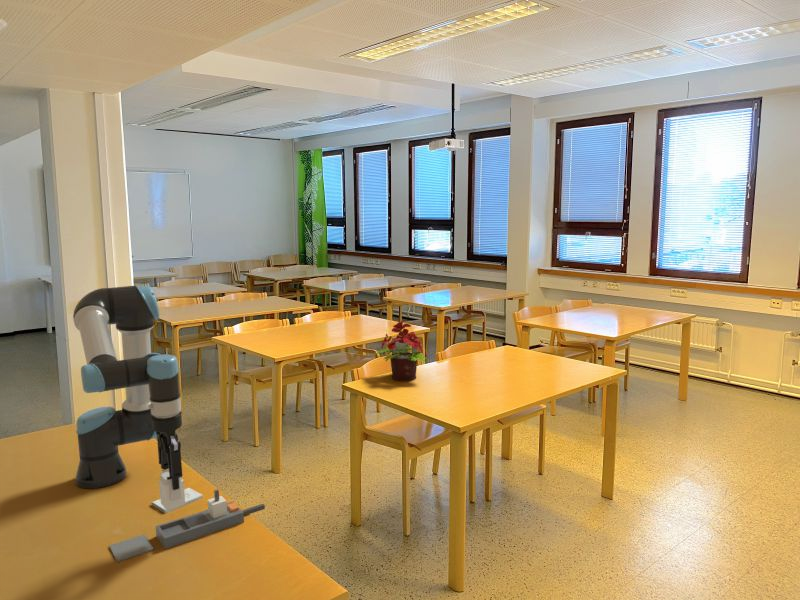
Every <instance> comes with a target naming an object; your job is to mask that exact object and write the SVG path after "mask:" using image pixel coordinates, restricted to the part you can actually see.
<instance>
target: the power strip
mask: <svg viewBox="0 0 800 600" xmlns="http://www.w3.org/2000/svg"><path fill="white" fill-rule="evenodd" d="M213 496H214V497H212V498H209V499H207V509H206V510H203V511H199V512H197V513H193V514H190V515H187V516H184V517H180V518H177V519H174V520H171V521H167V522H164V523H161V524H159V525H158V524H157V525H155V534H156V536H155V537H156V538H157V539H158V541H159V542H160V544H161V545H162V546H163V548H164V549H165V550H166V549H169V548H173V547H175V546H178V545H182V544H184V543H187V542H189V541H192V540H196V539H199V538H201V537H204V536H208V535H210V534H214V533H217V532H219V531H222V530H225V529H228V528H232V527H234V526H237V525H240V524H243V523H244V522H245V516H247V515H251V514H254V513H257V512H259V511H263V510H265V509H266V506H265V504H264V503H260V504H258V505H255V506H252V507H248V508H245V509H243V510H241V508H239V506H238V505H237V504H236V503H235V502H234V501H230V502H228V503H227V500H226V499H225V498H224V497H223V496H222V495H220V490H219V489H214V490H213Z"/></svg>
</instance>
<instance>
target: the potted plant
mask: <svg viewBox="0 0 800 600" xmlns="http://www.w3.org/2000/svg"><path fill="white" fill-rule="evenodd" d="M392 327H393V328H392V329H391V332H393V333H398V334H397V335H396V336H395V338H393V337H392V336H391V335H390V336H389V335H388V333H387V332H386V334H385V337H384V339H383V341H381V348H382V350H377V351H376V352H374V353H373V355H375V356H376V355H379V356H381V355H382V354H383V355H385V354H386V353H387V355H386V356H385V357H384V359H383V360H385V362H387V361H388V360H389V359H390V366H391V379H392V380H393V381H395V382H411V381H415V380H416V379H417V366H418V362H419V363H420V362H422V363H423V364H427V363H426V361H425V360H426V359H428V358H427V357H425V355H424V354H423V344H422V342H421V340H420V339H419V337H418V336H417V335H416V334H415V332H414V331H410V332H409V329H408V328H410V327H412V325H411V324H410V323H404V321H398V322H397V323H396V324H393V326H392ZM392 338H393V339H392ZM397 342H398V343H400V344H403V345H404V346H403V348H398V347H397V345H396V343H397ZM385 344H386V348H384V345H385ZM383 348H384V349H383ZM394 349H395V350H394ZM416 349H417V350H418V351H419V352H418V351H415V350H416ZM393 351H394V352H393ZM420 351H421V352H420ZM391 353H393V354H391Z"/></svg>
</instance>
